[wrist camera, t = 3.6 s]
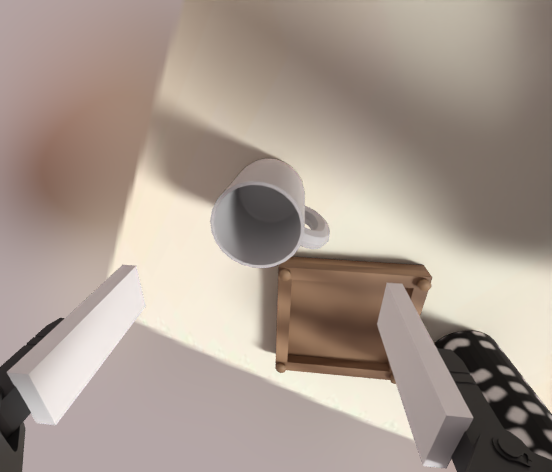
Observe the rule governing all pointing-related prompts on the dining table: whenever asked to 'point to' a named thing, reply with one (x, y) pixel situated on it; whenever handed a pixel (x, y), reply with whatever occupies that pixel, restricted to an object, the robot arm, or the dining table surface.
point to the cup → (266, 216)
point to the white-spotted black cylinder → (504, 389)
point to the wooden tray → (339, 314)
